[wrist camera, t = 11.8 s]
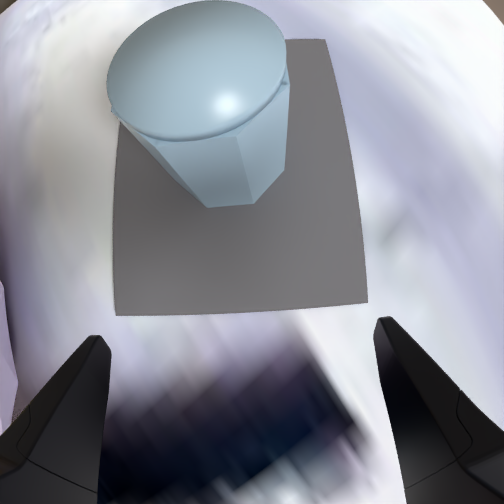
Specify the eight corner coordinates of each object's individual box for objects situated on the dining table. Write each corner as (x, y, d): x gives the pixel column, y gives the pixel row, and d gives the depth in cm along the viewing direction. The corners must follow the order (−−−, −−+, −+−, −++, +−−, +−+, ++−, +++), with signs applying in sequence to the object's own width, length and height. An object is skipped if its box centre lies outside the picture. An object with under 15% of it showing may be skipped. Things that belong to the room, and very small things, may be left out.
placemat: (366, 302, 19) (368, 302, 18) (118, 315, 20) (115, 315, 19) (324, 42, 21) (325, 39, 21) (131, 65, 22) (129, 62, 22)
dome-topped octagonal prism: (287, 201, 19) (298, 120, 9) (175, 211, 20) (95, 148, 10) (276, 104, 20) (275, -7, 10) (176, 115, 21) (121, 19, 11)
